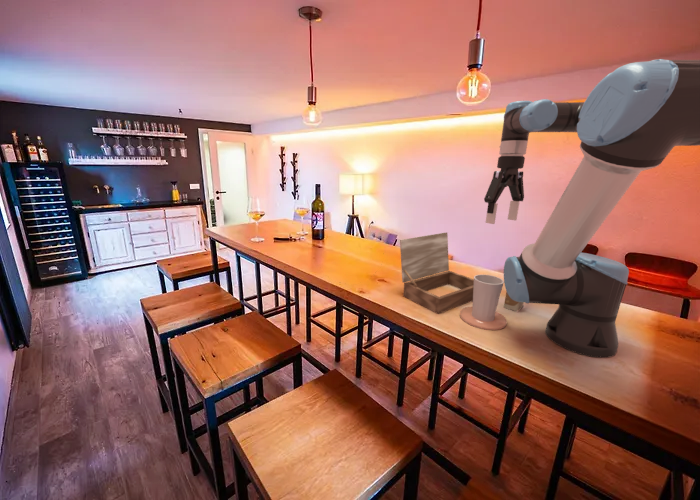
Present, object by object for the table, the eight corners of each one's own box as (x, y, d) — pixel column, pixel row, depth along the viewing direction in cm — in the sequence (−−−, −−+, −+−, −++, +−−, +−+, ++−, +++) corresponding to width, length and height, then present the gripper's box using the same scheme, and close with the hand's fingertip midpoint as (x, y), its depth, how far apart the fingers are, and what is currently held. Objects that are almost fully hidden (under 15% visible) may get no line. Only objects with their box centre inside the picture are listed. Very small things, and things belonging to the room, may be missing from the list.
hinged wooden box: (483, 296, 105) (491, 242, 99) (438, 313, 91) (444, 252, 86) (440, 279, 120) (445, 232, 114) (396, 292, 106) (399, 239, 101)
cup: (500, 324, 84) (507, 285, 81) (471, 321, 86) (477, 282, 82) (493, 311, 92) (499, 275, 88) (466, 308, 93) (471, 273, 90)
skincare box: (509, 302, 100) (515, 268, 97) (523, 306, 97) (530, 271, 94) (502, 307, 96) (508, 272, 93) (517, 312, 93) (524, 276, 90)
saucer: (515, 321, 87) (515, 319, 87) (490, 334, 80) (490, 332, 80) (475, 305, 97) (476, 303, 97) (450, 315, 90) (451, 313, 90)
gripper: (519, 157, 103) (509, 217, 109) (478, 154, 90) (469, 223, 95) (542, 156, 97) (531, 220, 103) (502, 153, 84) (491, 226, 89)
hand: (501, 221), depth 99 cm, fingers open, 13 cm apart
